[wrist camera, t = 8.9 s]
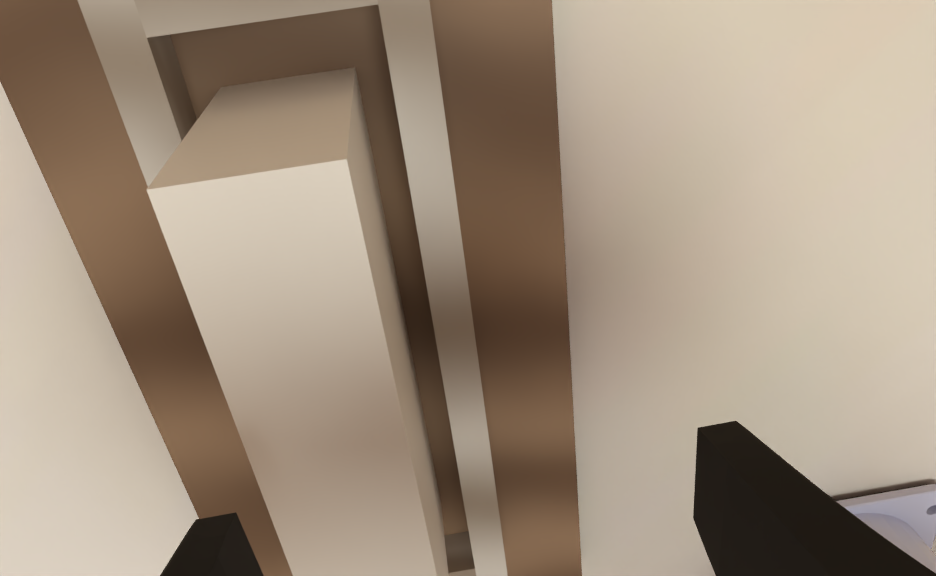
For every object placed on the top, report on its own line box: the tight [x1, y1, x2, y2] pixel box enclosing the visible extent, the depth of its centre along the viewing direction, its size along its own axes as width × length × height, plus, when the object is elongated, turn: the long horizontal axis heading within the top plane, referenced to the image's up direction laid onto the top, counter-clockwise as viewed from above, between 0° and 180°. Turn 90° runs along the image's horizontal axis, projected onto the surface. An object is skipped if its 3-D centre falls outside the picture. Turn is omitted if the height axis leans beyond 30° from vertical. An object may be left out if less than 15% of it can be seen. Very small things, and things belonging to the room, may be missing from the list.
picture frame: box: [0, 0, 582, 576], centre depth 19 cm, size 24×12×2 cm, turn 7°
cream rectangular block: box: [147, 67, 449, 576], centre depth 16 cm, size 14×3×8 cm, turn 7°
